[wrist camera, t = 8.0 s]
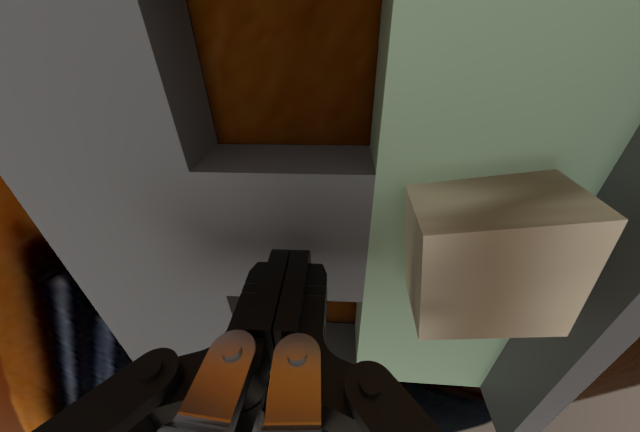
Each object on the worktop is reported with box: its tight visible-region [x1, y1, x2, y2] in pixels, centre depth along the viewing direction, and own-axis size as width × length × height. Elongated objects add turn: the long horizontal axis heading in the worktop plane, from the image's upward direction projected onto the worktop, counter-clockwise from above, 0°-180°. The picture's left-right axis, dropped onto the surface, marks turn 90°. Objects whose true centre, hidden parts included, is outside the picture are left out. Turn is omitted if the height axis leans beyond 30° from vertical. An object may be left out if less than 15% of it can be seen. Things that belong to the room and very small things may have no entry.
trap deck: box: [0, 0, 640, 432], centre depth 13 cm, size 24×22×6 cm
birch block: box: [405, 169, 628, 340], centre depth 10 cm, size 5×5×3 cm
